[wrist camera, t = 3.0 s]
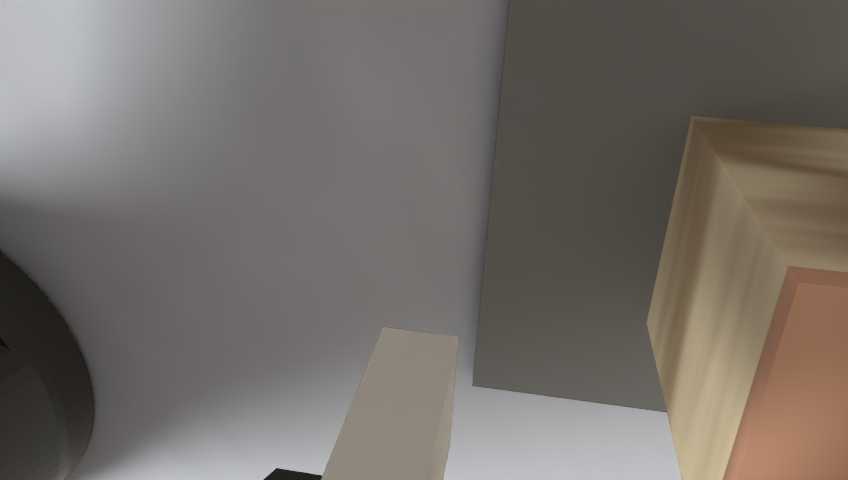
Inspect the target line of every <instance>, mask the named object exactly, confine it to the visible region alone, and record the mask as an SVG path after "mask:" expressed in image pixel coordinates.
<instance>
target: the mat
mask: <svg viewBox="0 0 848 480" xmlns="http://www.w3.org/2000/svg"><path fill="white" fill-rule="evenodd" d="M691 116H700V117H711V118H723V119H734V120H745V121H757V122H768V123H779V124H791V125H802V126H813V127H824V128H836V129H847V130H848V0H510V1H509V11H508V22H507V32H506V42H505V53H504V63H503V73H502V84H501V94H500V104H499V115H498V125H497V135H496V146H495V156H494V166H493V177H492V187H491V197H490V208H489V218H488V228H487V239H486V249H485V259H484V270H483V280H482V290H481V301H480V311H479V321H478V332H477V342H476V352H475V363H474V373H473V384H472V386H478V387H485V388H493V389H500V390H507V391H514V392H522V393H529V394H536V395H544V396H551V397H558V398H566V399H573V400H580V401H588V402H595V403H602V404H610V405H617V406H624V407H632V408H639V409H646V410H654V411H661V412H667V410H666V406H665V401H664V397H663V393H662V388H661V384H660V379H659V375H658V371H657V366H656V362H655V357H654V353H653V349H652V344H651V340H650V335H649V331H648V326H647V318H648V314H649V309H650V304H651V300H652V295H653V291H654V286H655V281H656V277H657V272H658V268H659V263H660V258H661V254H662V249H663V245H664V240H665V235H666V231H667V226H668V222H669V217H670V212H671V208H672V203H673V199H674V194H675V189H676V185H677V180H678V176H679V171H680V166H681V162H682V157H683V153H684V148H685V143H686V139H687V134H688V130H689V125H690V120H691Z"/></svg>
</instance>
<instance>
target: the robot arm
mask: <svg viewBox="0 0 848 480" xmlns="http://www.w3.org/2000/svg"><path fill="white" fill-rule="evenodd" d="M458 338H459V337H455V336H448V335H440V334H433V333H425V332H418V331H410V330H403V329H395V328H388V327H383V328H382V330H381V333H380V335H379V337H378V340H377V342H376V345H375V347H374V350H373V352H372V355H371V357H370V360H369V362H368V365H367V367H366V370H365V372H364V375H363V377H362V379H361V382H360V384H359V387H358V389H357V392H356V394H355V397H354V399H353V402H352V404H351V407H350V409H349V412H348V414H347V417H346V419H345V421H344V424H343V426H342V429H341V431H340V434H339V436H338V439H337V441H336V444H335V446H334V449H333V451H332V454H331V456H330V459H329V461H328V463H327V466H326V468H325V471H324V473H323V476H321V475H315V474H309V473H303V472H297V471H290V470H284V469H278V468H276V469H275V470H274V471H273V472H272V473H271V474H270V475H268V476H267V477H266V478H265V479H264V480H443V477H444V472H445V466H446V461H447V456H448V451H449V446H450V434H451V422H452V410H453V398H454V386H455V374H456V362H457V350H458ZM93 414H94V407H93V395H92V389H91V384H90V380H89V376H88V372H87V369H86V366H85V363H84V361H83V358H82V356H81V353H80V351H79V349H78V347H77V345H76V343H75V341H74V339H73V337H72V335H71V333H70V332H69V330H68V328H67V327H66V325H65V323H64V322H63V320H62V319H61V317H60V316H59V314H58V313H57V312H56V310H55V309H54V307H53V306H52V305H51V304H50V302H49V301H48V300H47V299H46V297H45V296H44V295H43V294H42V293H41V292H40V290H39V289H38V288H37V287H36V286H35V285H34V284H33V283H32V282H31V281H30V280H29V279H28V278H27V277H26V276H25V275H24V274H23V273H22V272H21V271H20V270H19V269H18V268H17V267H16V266H14V265H13V264H12V263H11V262H10V261H9V260H8V259H6V258H5V257H4V256H3V255H1V254H0V480H64V479H65V478H66V477H67V476H68V474H69V473H70V472H71V471H72V470H73V468H74V467H75V466H76V465H77V463H78V462H79V461H80V459H81V457H82V456H83V454H84V452H85V450H86V448H87V445H88V442H89V440H90V436H91V432H92V426H93Z"/></svg>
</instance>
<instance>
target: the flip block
mask: <svg viewBox="0 0 848 480" xmlns="http://www.w3.org/2000/svg"><path fill="white" fill-rule="evenodd" d="M647 326H648V331H649V335H650V340H651V344H652V349H653V353H654V357H655V362H656V366H657V371H658V375H659V379H660V384H661V388H662V393H663V397H664V401H665V406H666V410H667V415H668V419H669V424H670V428H671V432H672V437H673V441H674V446H675V450H676V454H677V459H678V463H679V468H680V472H681V476H682V480H848V130H847V129H836V128H824V127H813V126H802V125H791V124H779V123H768V122H757V121H745V120H734V119H723V118H711V117H700V116H691V120H690V125H689V130H688V134H687V139H686V143H685V148H684V153H683V157H682V162H681V166H680V171H679V176H678V180H677V185H676V189H675V194H674V199H673V203H672V208H671V212H670V217H669V222H668V226H667V231H666V235H665V240H664V245H663V249H662V254H661V258H660V263H659V268H658V272H657V277H656V281H655V286H654V291H653V295H652V300H651V304H650V309H649V314H648V318H647Z"/></svg>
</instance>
